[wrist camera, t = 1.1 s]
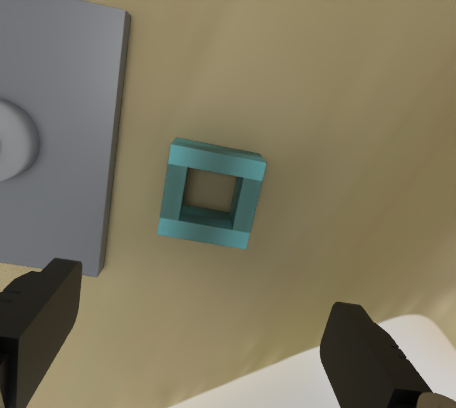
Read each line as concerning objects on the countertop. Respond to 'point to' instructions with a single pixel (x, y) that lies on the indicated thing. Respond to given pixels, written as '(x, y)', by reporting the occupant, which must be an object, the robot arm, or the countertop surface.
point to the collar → (205, 218)
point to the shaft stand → (59, 128)
